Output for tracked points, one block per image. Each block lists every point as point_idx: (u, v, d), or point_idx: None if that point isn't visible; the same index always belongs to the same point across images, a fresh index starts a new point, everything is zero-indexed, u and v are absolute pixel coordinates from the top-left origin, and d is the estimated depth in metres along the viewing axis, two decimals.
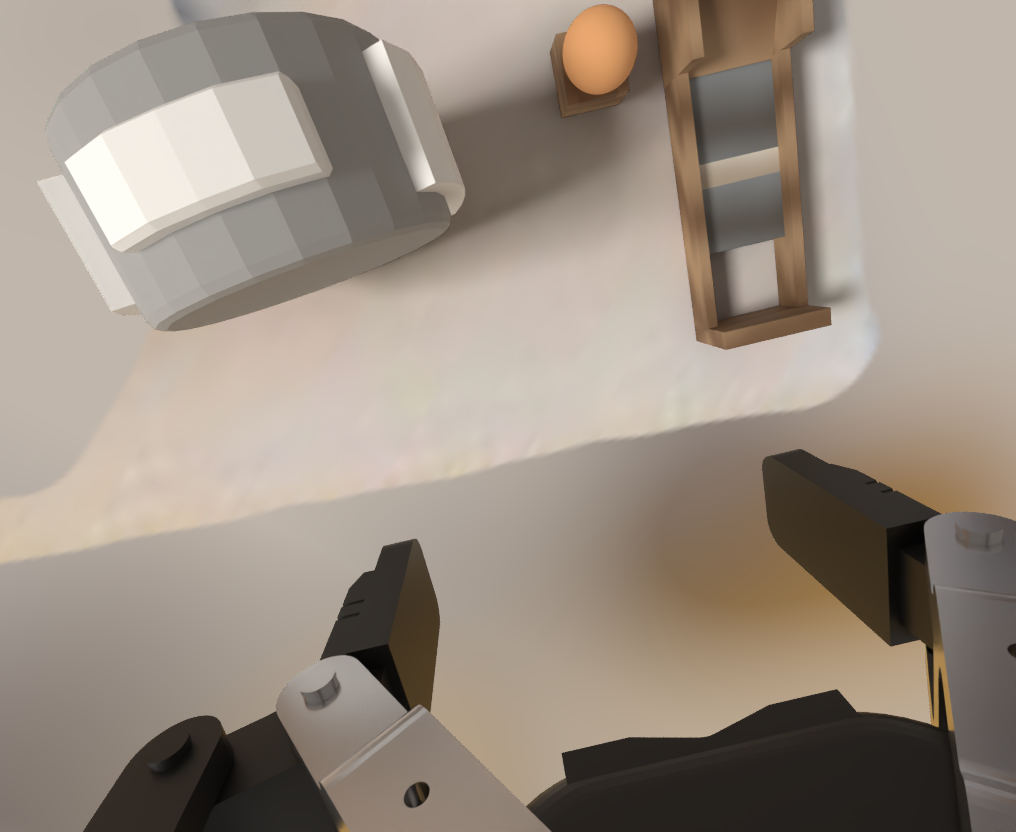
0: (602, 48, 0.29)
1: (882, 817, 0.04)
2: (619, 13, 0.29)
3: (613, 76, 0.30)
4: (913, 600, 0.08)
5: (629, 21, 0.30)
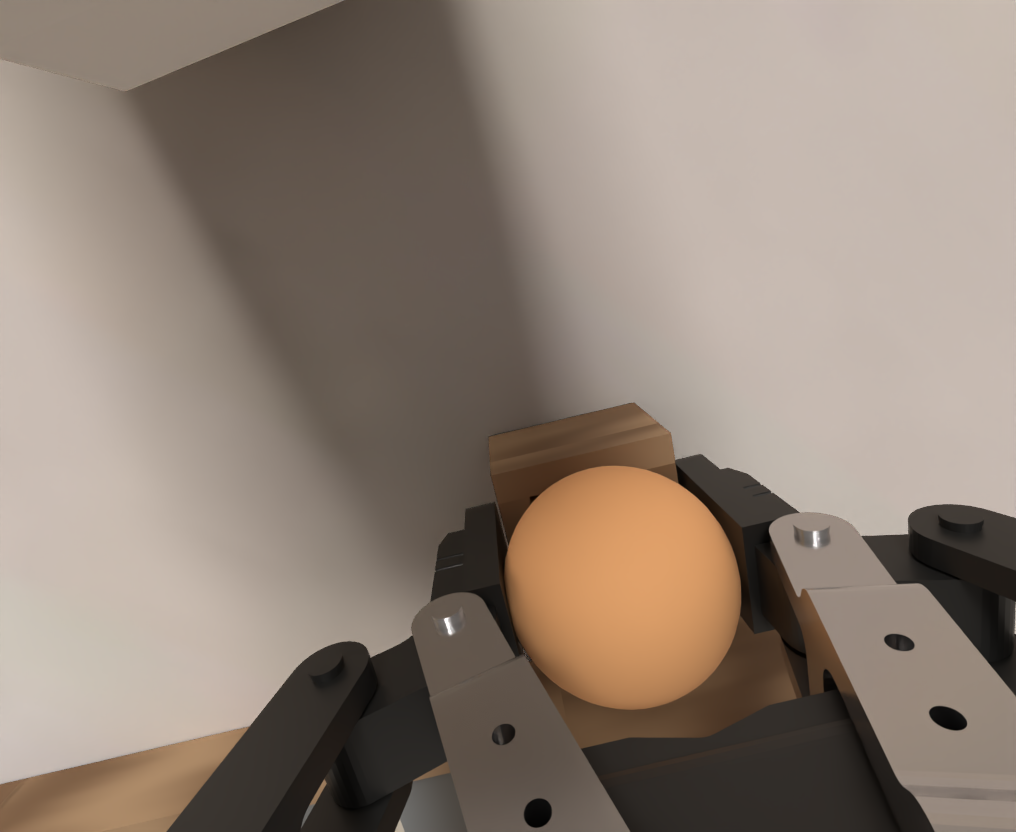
0: (612, 641, 0.08)
1: (882, 817, 0.04)
2: (714, 669, 0.09)
3: (536, 655, 0.09)
4: (767, 592, 0.09)
5: (689, 691, 0.09)
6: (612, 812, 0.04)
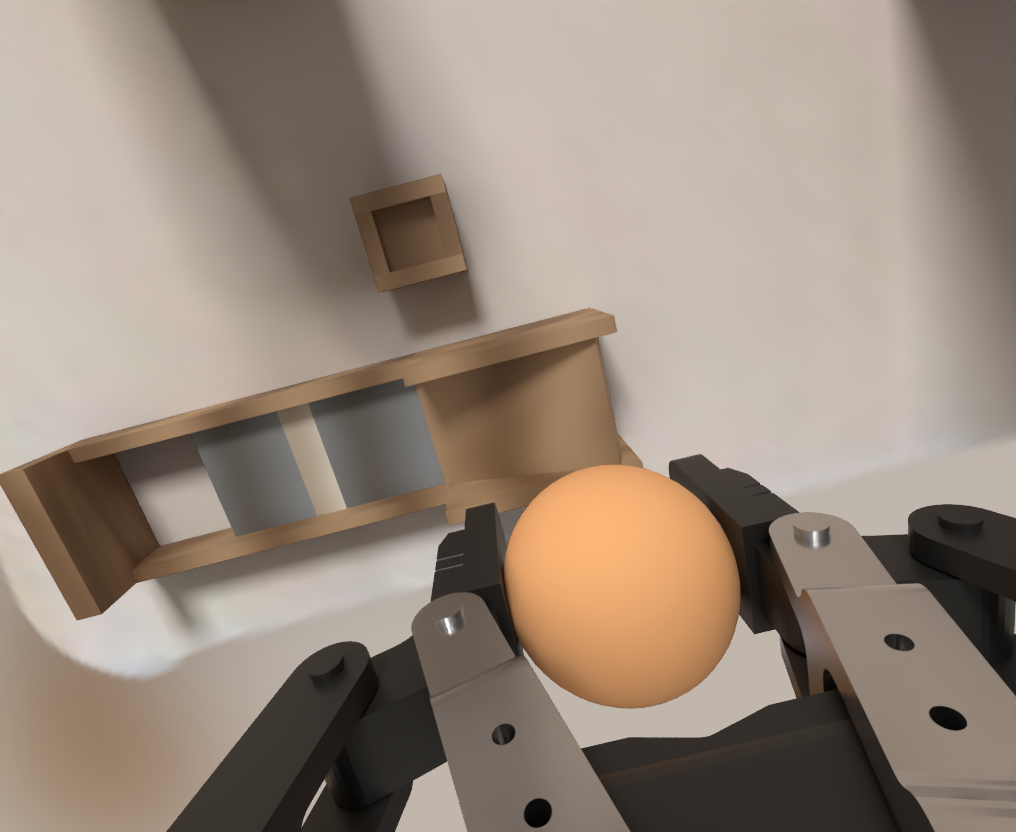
0: (611, 640, 0.08)
1: (882, 817, 0.04)
2: (713, 667, 0.09)
3: (535, 653, 0.09)
4: (767, 592, 0.09)
5: (688, 689, 0.09)
6: (612, 812, 0.04)
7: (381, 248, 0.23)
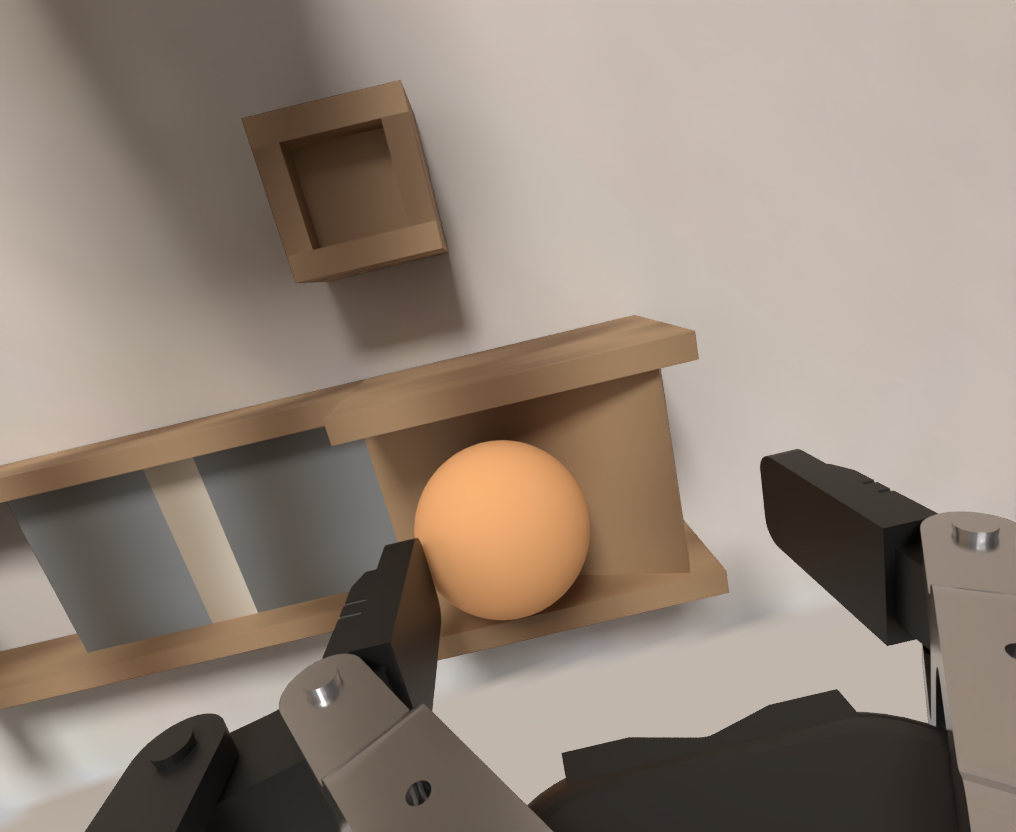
0: None
1: (882, 817, 0.04)
2: (480, 610, 0.12)
3: None
4: (910, 599, 0.08)
5: (485, 618, 0.12)
6: None
7: (298, 208, 0.13)
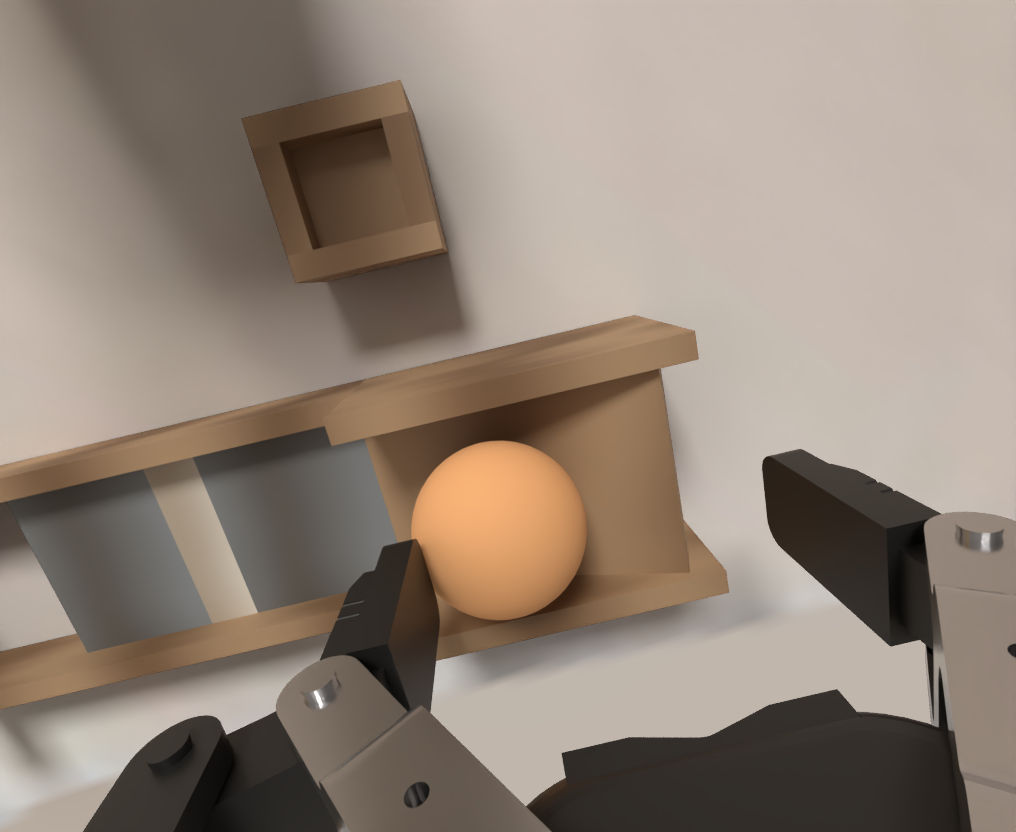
0: None
1: (882, 817, 0.04)
2: (474, 610, 0.12)
3: None
4: (913, 600, 0.08)
5: (479, 617, 0.12)
6: None
7: (298, 208, 0.13)
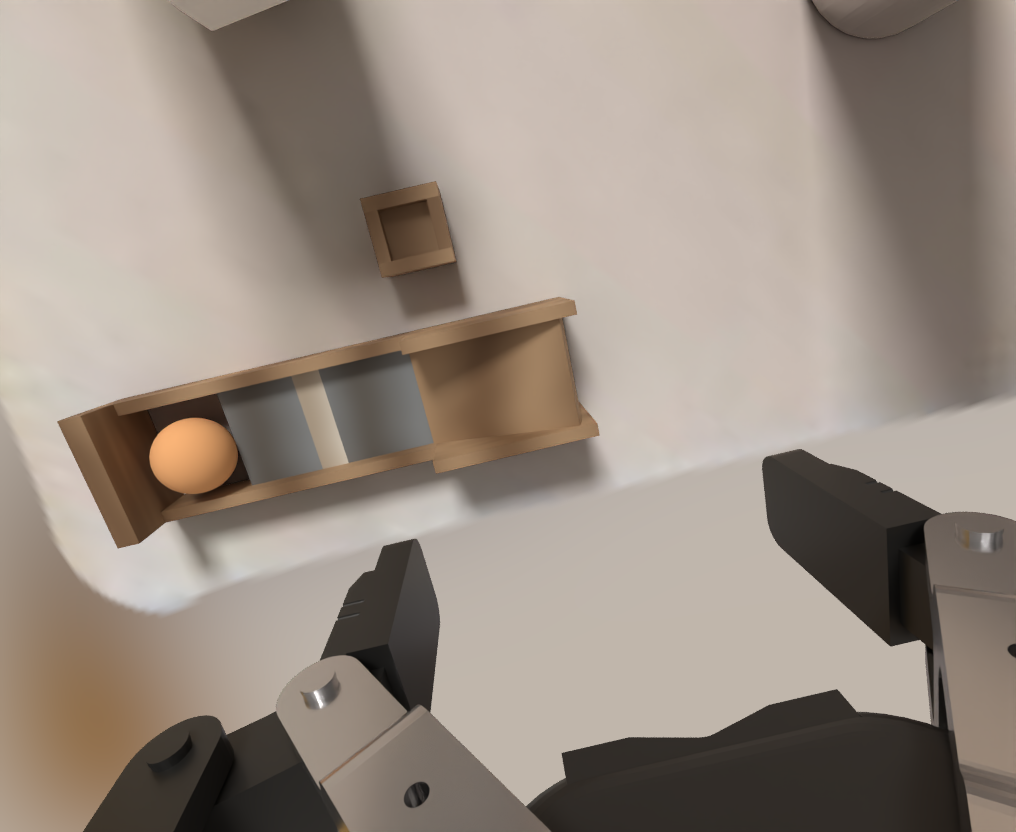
0: None
1: (882, 817, 0.04)
2: None
3: (236, 445, 0.31)
4: (913, 600, 0.08)
5: None
6: None
7: (385, 241, 0.27)
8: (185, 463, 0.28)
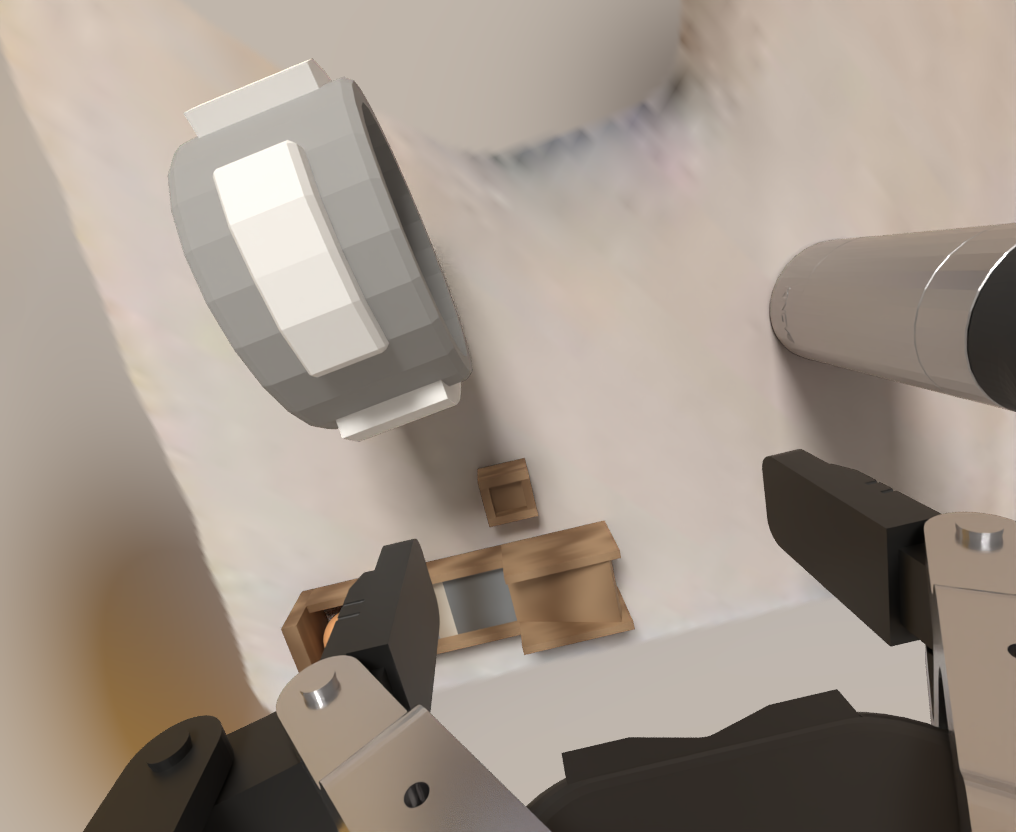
0: None
1: (882, 817, 0.04)
2: None
3: None
4: (913, 600, 0.08)
5: None
6: None
7: (492, 505, 0.41)
8: None
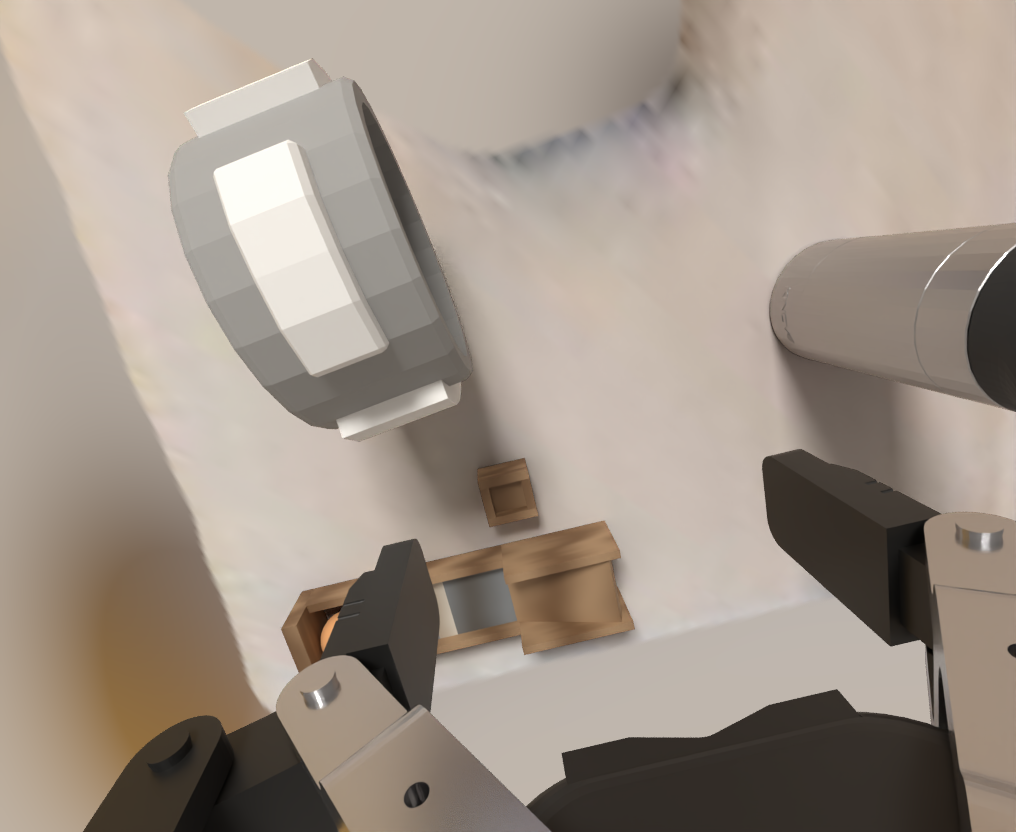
0: None
1: (882, 817, 0.04)
2: None
3: None
4: (913, 600, 0.08)
5: None
6: None
7: (492, 505, 0.41)
8: None
